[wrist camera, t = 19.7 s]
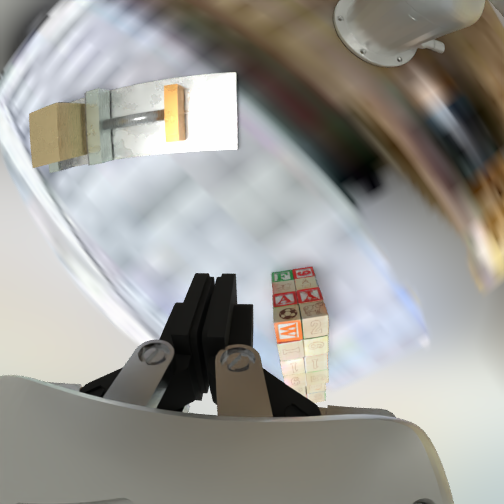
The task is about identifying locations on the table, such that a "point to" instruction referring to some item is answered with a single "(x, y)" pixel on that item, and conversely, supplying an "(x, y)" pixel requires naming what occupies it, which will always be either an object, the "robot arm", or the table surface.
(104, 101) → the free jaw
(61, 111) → the brass block
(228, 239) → the table surface
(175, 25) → the table surface
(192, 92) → the vise
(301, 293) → the stack of blocks
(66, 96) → the table surface
